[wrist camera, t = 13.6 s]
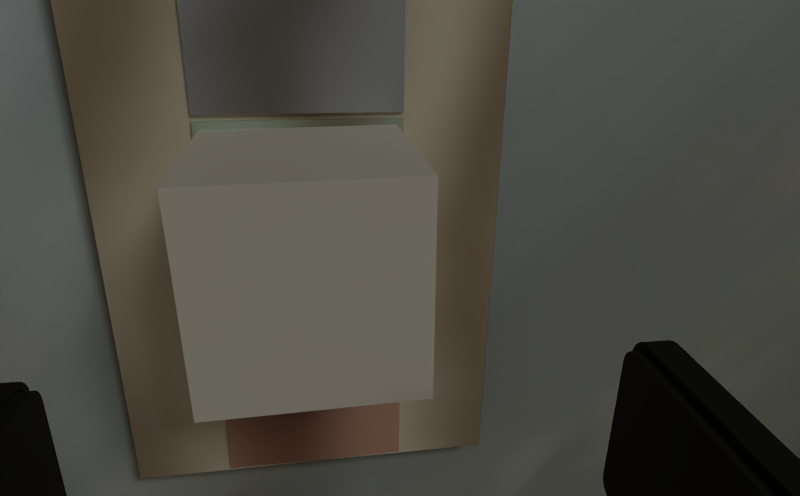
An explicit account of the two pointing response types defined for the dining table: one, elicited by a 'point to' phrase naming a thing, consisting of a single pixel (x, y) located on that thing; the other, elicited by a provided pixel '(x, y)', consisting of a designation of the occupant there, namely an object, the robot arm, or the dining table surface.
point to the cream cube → (302, 268)
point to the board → (285, 108)
